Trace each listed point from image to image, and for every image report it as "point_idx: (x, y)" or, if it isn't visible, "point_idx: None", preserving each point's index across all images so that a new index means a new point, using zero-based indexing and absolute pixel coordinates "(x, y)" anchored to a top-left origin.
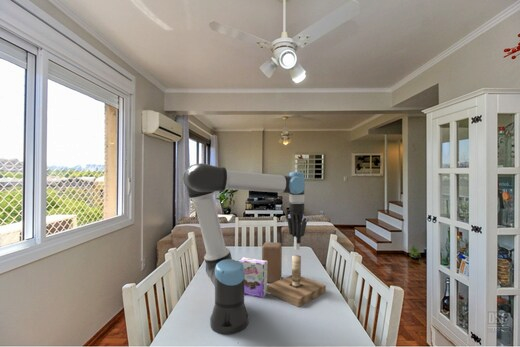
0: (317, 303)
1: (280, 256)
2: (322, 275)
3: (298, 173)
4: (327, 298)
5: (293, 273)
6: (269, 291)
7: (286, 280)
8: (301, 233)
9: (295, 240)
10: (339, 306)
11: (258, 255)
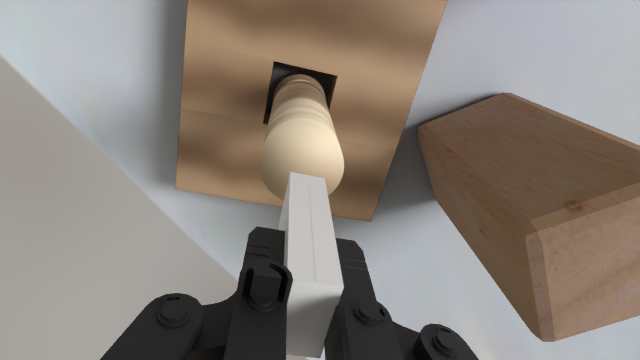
0: (150, 37)
1: (480, 223)
2: None
3: None
4: (143, 118)
5: (307, 91)
6: None
7: (373, 124)
8: (111, 355)
9: (304, 242)
10: (54, 72)
11: (624, 341)
